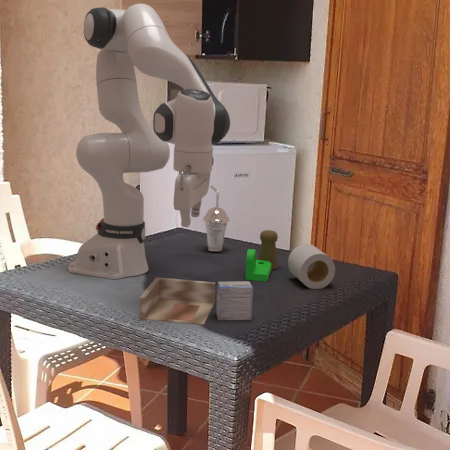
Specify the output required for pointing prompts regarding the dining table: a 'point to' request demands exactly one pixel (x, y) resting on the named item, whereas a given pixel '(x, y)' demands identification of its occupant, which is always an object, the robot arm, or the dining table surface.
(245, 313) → the medicine box
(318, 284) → the toilet paper
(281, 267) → the dining table surface
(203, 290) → the arena
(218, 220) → the cup with straw
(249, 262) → the mechanical part
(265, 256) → the cork
